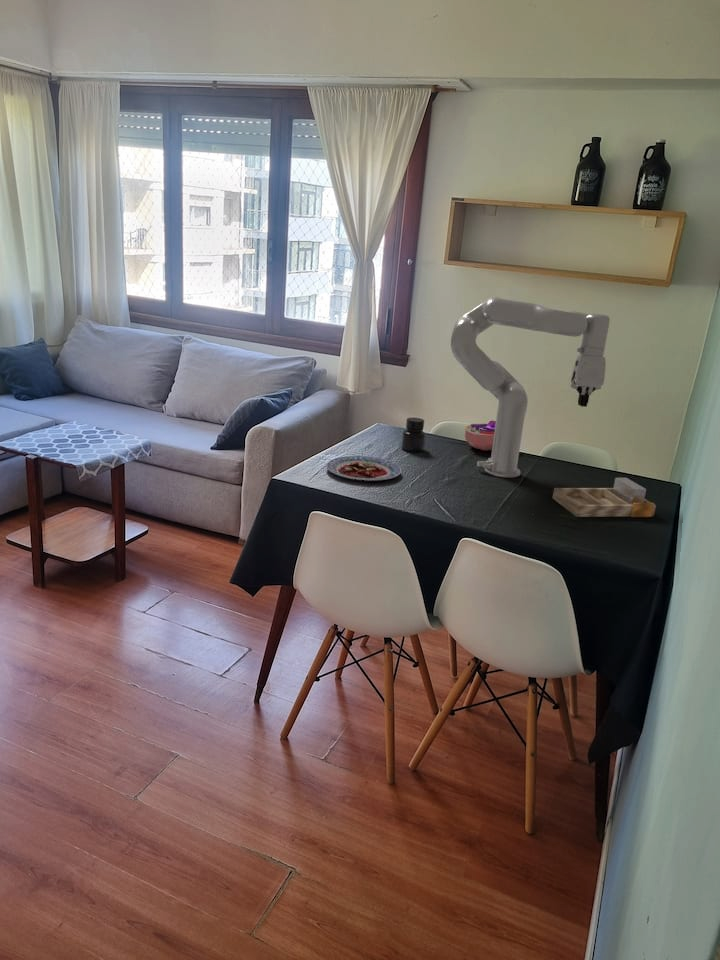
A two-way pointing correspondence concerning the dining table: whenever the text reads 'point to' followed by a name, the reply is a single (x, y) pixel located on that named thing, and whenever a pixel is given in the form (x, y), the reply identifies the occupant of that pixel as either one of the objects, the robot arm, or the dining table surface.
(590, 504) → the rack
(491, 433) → the cell model
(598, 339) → the robot arm
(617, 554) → the dining table surface
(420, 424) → the ink bottle
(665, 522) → the dining table surface
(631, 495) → the grey block
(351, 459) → the ceramic plate
